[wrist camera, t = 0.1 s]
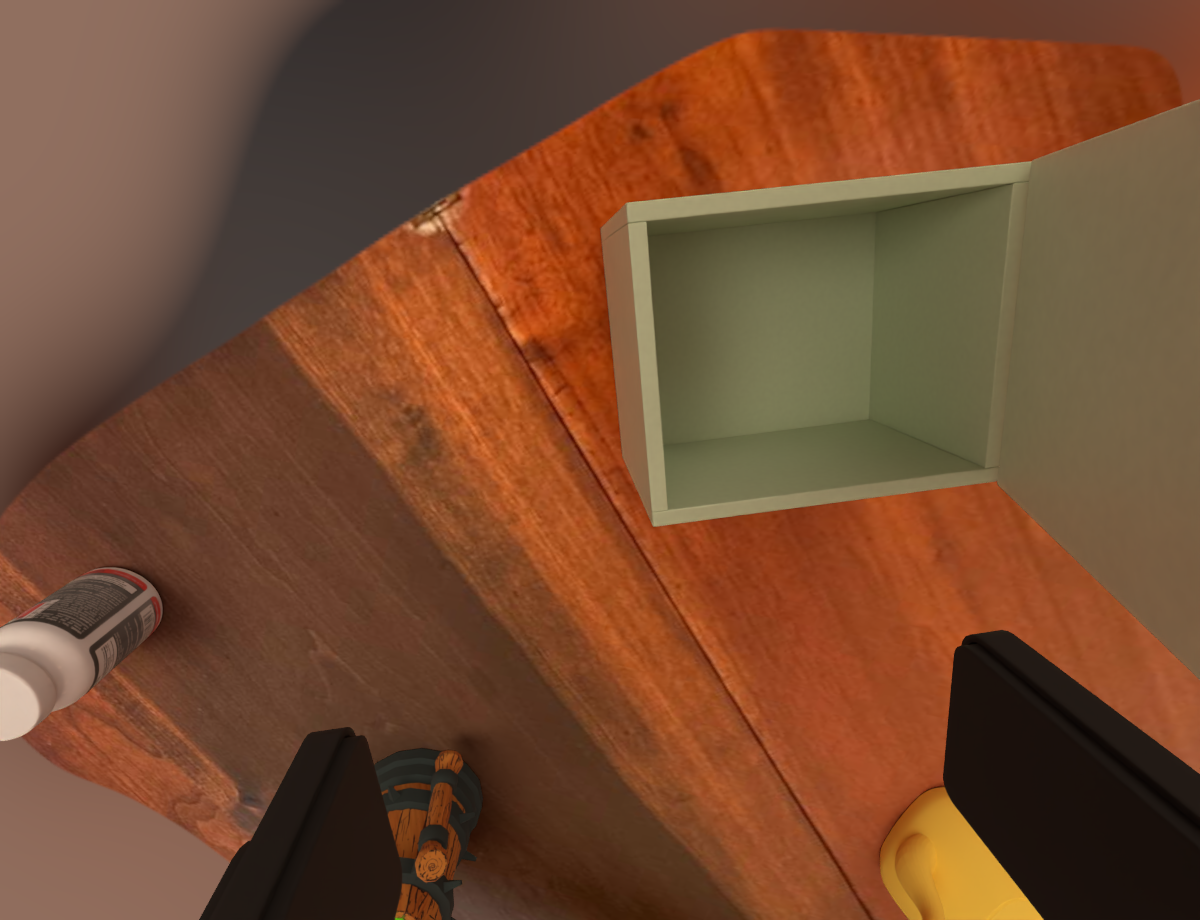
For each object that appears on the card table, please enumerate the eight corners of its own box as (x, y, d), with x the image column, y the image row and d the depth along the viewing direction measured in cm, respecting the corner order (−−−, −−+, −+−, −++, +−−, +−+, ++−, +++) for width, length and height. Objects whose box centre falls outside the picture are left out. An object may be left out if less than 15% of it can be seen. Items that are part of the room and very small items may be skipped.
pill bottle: (54, 588, 39) (-104, 687, 29) (126, 549, 38) (-11, 636, 29) (116, 652, 40) (-15, 766, 31) (185, 615, 40) (74, 718, 31)
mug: (455, 861, 48) (428, 1031, 37) (334, 824, 46) (269, 993, 35) (524, 743, 46) (517, 889, 35) (399, 698, 44) (350, 839, 33)
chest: (622, 457, 40) (652, 527, 28) (600, 227, 35) (626, 202, 24) (873, 426, 41) (999, 481, 29) (881, 198, 36) (1033, 160, 25)
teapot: (795, 880, 53) (855, 1025, 42) (888, 748, 49) (979, 872, 39) (982, 935, 57) (1078, 1079, 47) (1080, 818, 54) (1207, 946, 43)
